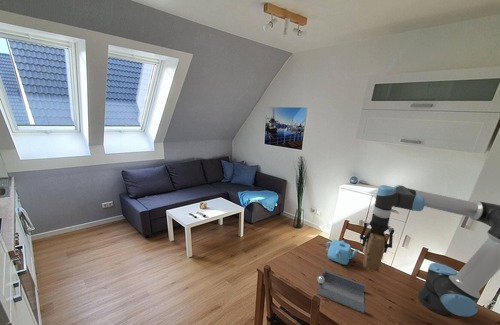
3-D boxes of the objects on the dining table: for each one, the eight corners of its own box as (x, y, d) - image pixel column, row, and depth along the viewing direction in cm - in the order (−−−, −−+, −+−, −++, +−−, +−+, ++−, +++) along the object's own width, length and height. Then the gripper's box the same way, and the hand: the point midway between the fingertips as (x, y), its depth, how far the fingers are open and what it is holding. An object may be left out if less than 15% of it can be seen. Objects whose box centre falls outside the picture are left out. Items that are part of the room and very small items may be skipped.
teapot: (332, 267, 143) (335, 249, 141) (322, 252, 159) (324, 236, 157) (357, 267, 145) (360, 249, 142) (345, 252, 161) (348, 236, 158)
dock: (363, 291, 124) (366, 276, 122) (363, 313, 109) (366, 297, 107) (320, 274, 135) (322, 261, 133) (315, 293, 120) (317, 278, 118)
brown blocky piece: (378, 274, 108) (386, 239, 104) (362, 269, 112) (369, 235, 107) (377, 262, 118) (384, 230, 114) (362, 258, 121) (369, 226, 117)
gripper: (403, 218, 107) (394, 257, 112) (359, 207, 116) (352, 244, 121) (406, 224, 101) (395, 265, 105) (359, 212, 110) (351, 251, 115)
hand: (372, 254), depth 113 cm, fingers closed on brown blocky piece, 7 cm apart
